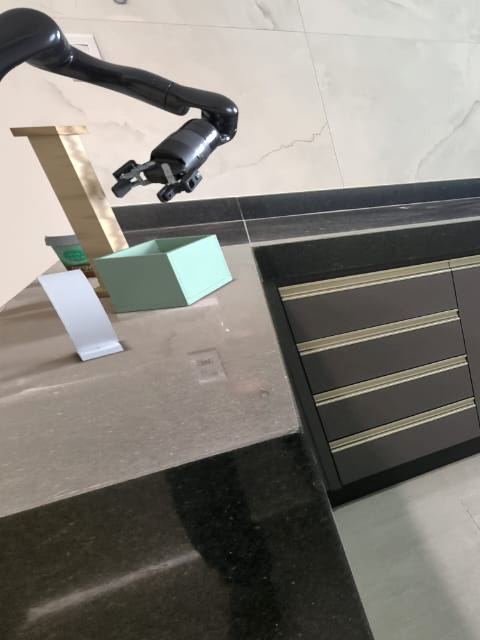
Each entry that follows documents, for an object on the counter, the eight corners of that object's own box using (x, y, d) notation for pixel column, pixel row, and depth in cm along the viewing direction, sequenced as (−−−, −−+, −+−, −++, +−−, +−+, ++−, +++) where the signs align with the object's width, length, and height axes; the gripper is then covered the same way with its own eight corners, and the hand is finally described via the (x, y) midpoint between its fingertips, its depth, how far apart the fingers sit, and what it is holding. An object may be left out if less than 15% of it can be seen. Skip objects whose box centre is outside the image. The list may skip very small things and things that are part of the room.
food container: (55, 283, 121) (32, 239, 117) (64, 277, 126) (42, 235, 121) (125, 273, 127) (105, 231, 122) (131, 268, 131) (112, 227, 127)
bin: (188, 305, 100) (166, 253, 96) (117, 312, 98) (91, 259, 94) (232, 279, 117) (215, 234, 112) (173, 285, 114) (153, 239, 110)
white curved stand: (117, 343, 83) (80, 269, 78) (125, 352, 80) (87, 274, 75) (77, 353, 80) (35, 276, 75) (83, 362, 76) (41, 282, 71)
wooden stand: (113, 286, 116) (37, 127, 102) (160, 282, 117) (91, 125, 104) (84, 298, 108) (-3, 128, 94) (135, 293, 109) (57, 125, 96)
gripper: (137, 133, 114) (87, 176, 104) (207, 142, 116) (165, 185, 106) (157, 165, 120) (112, 208, 110) (224, 172, 121) (185, 216, 111)
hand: (138, 196), depth 108 cm, fingers open, 8 cm apart
